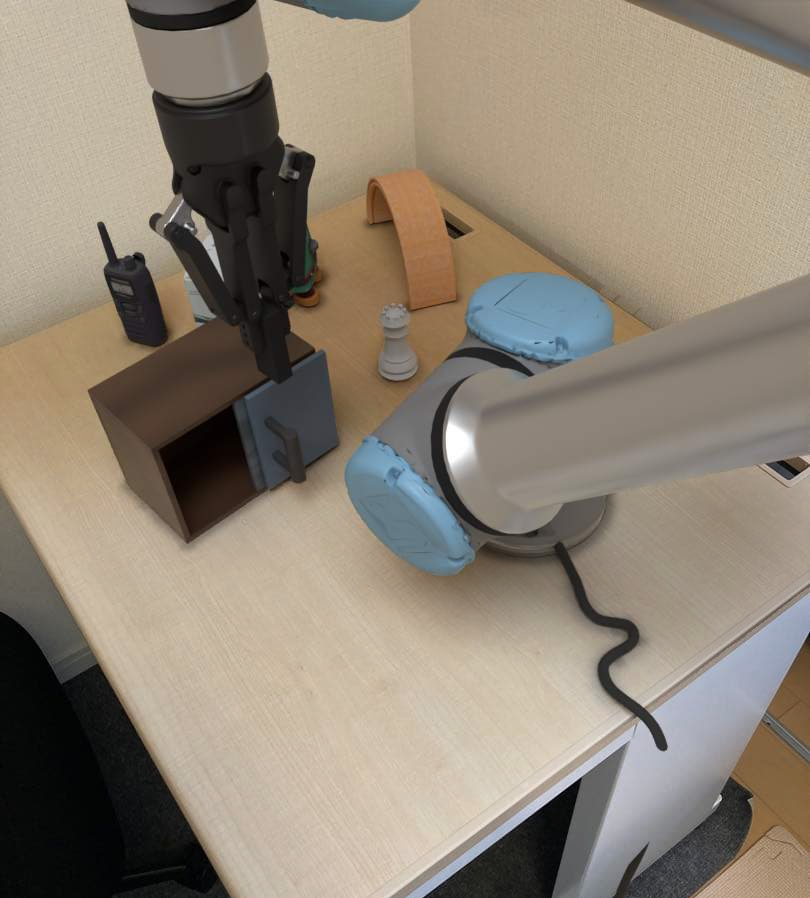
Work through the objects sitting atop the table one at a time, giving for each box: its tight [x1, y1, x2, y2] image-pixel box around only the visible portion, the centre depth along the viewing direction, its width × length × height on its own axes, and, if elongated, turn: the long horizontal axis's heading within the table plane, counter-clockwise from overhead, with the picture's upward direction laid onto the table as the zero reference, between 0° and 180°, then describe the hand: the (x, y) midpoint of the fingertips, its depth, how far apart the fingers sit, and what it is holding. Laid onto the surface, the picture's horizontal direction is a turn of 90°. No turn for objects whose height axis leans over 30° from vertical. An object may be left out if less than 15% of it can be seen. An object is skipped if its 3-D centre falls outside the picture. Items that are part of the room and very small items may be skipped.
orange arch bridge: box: [365, 168, 457, 311], centre depth 109 cm, size 6×20×10 cm, turn 16°
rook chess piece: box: [377, 302, 419, 382], centre depth 97 cm, size 4×4×8 cm
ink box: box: [183, 233, 262, 328], centre depth 100 cm, size 9×5×12 cm, turn 168°
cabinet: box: [86, 317, 317, 544], centre depth 88 cm, size 10×18×13 cm, turn 133°
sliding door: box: [244, 348, 340, 491], centre depth 86 cm, size 5×9×12 cm, turn 133°
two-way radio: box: [96, 220, 168, 347], centre depth 101 cm, size 6×4×15 cm
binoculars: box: [288, 224, 323, 307], centre depth 107 cm, size 9×11×10 cm
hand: (275, 372), depth 74 cm, fingers closed
